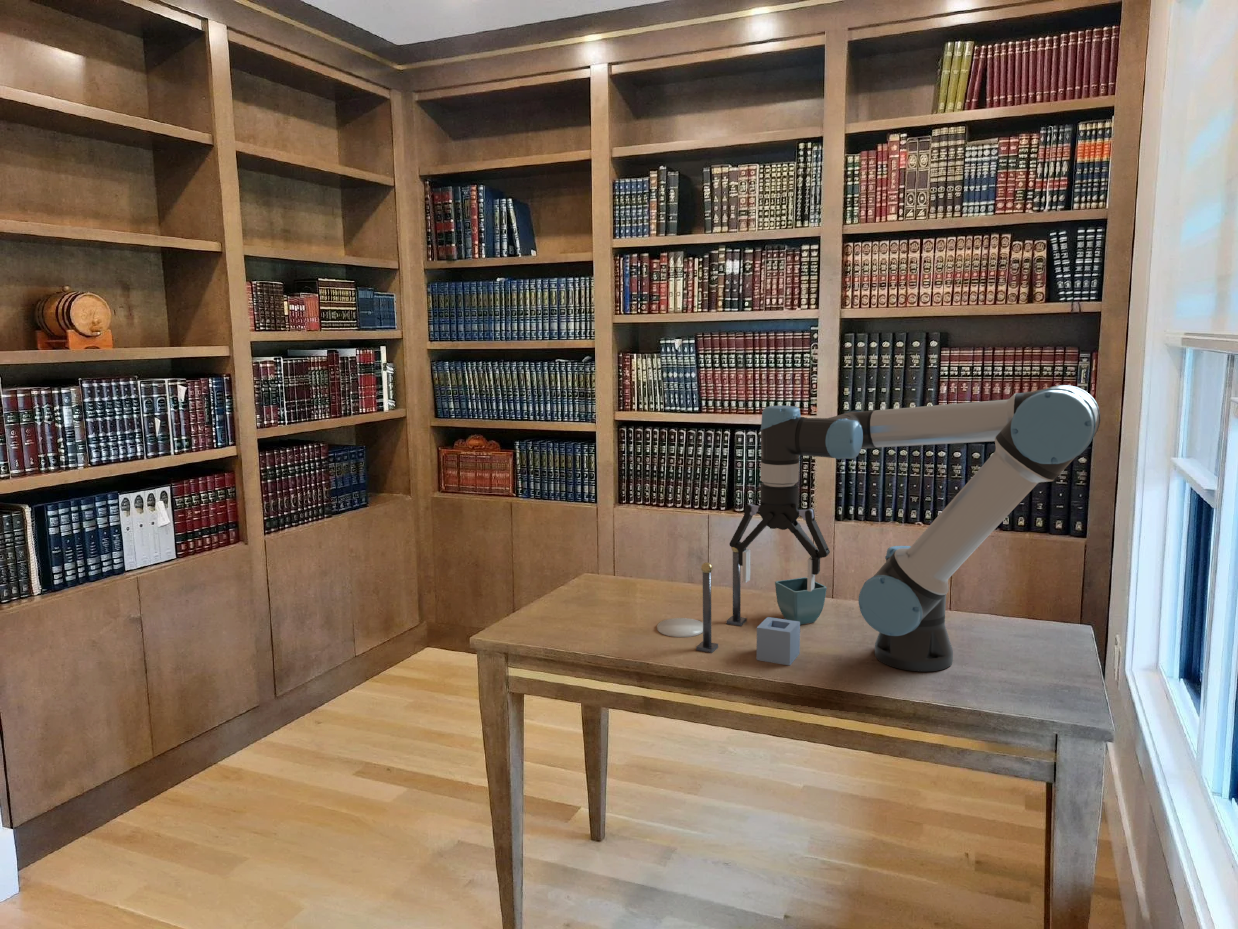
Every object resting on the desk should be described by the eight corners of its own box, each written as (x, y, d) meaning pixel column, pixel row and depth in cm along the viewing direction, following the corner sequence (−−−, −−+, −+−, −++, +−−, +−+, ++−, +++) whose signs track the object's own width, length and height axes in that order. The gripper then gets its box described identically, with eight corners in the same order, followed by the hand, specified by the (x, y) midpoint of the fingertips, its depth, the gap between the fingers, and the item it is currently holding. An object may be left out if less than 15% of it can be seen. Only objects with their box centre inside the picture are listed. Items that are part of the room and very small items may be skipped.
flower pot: (827, 624, 195) (828, 586, 193) (794, 630, 191) (794, 591, 190) (805, 613, 203) (805, 576, 201) (773, 618, 199) (773, 581, 198)
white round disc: (712, 624, 196) (712, 622, 196) (694, 640, 186) (694, 637, 186) (669, 617, 201) (669, 615, 201) (649, 632, 192) (649, 630, 191)
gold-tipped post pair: (746, 621, 198) (746, 541, 195) (712, 653, 179) (711, 565, 176) (732, 619, 199) (731, 540, 196) (696, 650, 181) (695, 563, 178)
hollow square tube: (799, 653, 177) (800, 621, 176) (789, 665, 171) (790, 632, 170) (767, 648, 181) (767, 617, 180) (756, 660, 175) (756, 627, 173)
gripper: (846, 484, 168) (843, 587, 171) (727, 475, 179) (727, 573, 183) (837, 491, 161) (834, 598, 165) (714, 481, 173) (714, 582, 176)
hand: (778, 585), depth 174 cm, fingers open, 13 cm apart
